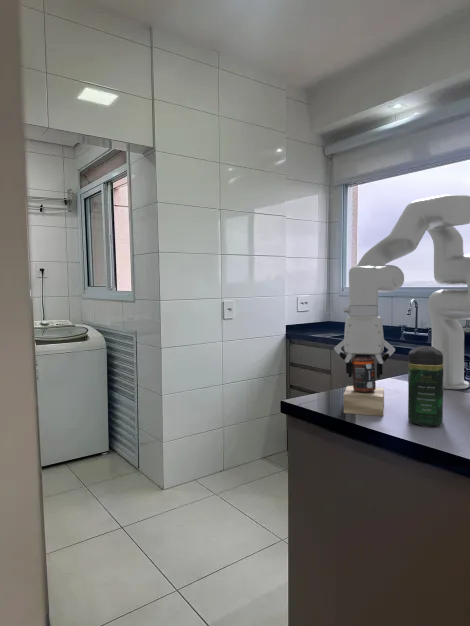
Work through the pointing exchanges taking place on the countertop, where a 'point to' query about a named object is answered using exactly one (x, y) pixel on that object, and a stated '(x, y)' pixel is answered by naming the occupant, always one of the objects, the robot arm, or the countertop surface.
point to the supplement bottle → (363, 373)
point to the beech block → (364, 401)
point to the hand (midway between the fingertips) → (364, 376)
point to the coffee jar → (425, 386)
